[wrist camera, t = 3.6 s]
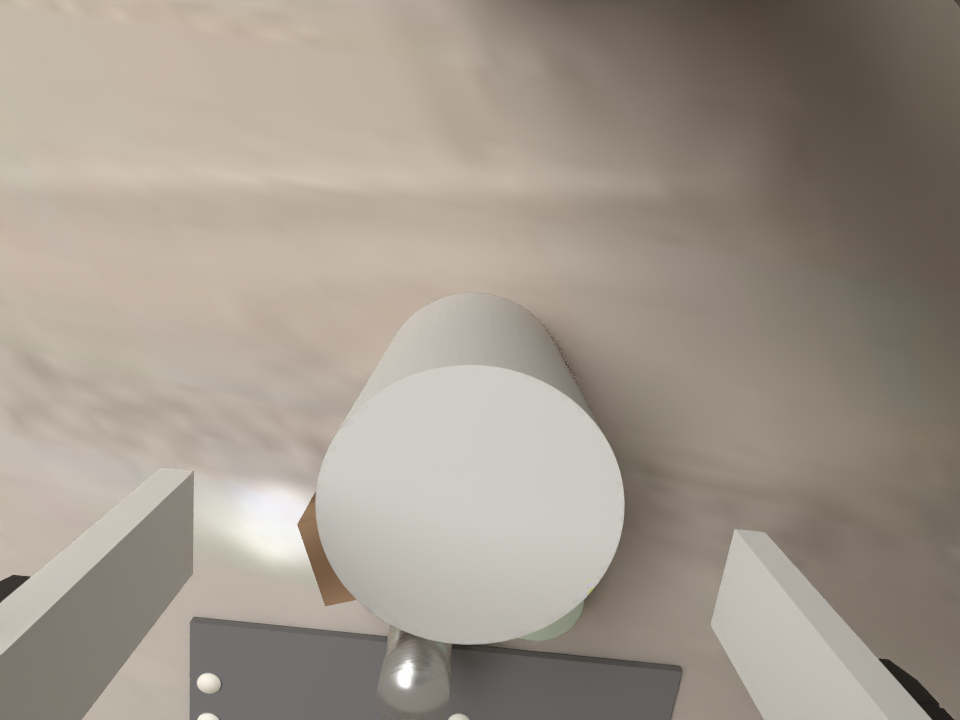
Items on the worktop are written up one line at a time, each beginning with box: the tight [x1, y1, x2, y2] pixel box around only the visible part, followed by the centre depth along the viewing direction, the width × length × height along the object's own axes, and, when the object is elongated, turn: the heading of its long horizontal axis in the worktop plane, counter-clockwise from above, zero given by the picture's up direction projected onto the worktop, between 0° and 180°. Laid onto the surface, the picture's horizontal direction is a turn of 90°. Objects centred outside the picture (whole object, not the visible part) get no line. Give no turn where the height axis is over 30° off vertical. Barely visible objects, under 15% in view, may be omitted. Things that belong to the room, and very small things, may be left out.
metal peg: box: [376, 624, 452, 720], centre depth 28 cm, size 3×3×6 cm
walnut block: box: [297, 492, 356, 606], centre depth 27 cm, size 4×4×4 cm
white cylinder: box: [315, 293, 625, 645], centre depth 22 cm, size 8×8×12 cm
